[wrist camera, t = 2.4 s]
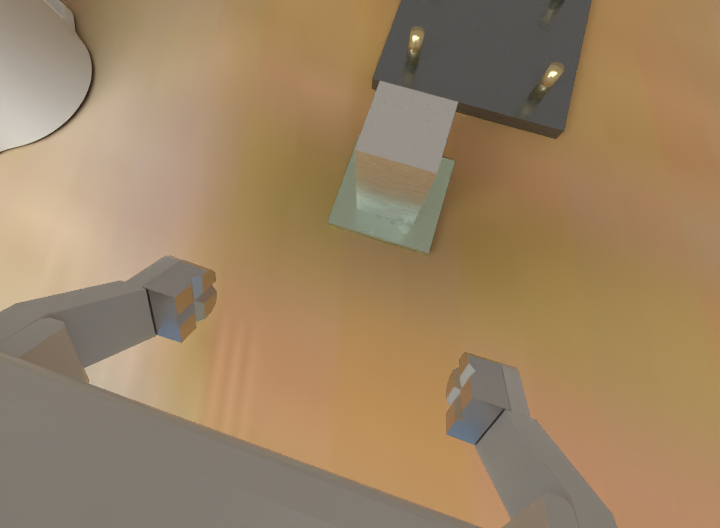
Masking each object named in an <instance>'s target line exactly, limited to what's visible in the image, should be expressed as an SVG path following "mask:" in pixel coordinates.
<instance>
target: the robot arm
mask: <svg viewBox="0 0 720 528" xmlns="http://www.w3.org/2000/svg"><path fill="white" fill-rule="evenodd" d="M91 75H92V64H91V59H90V55H89V52H88V50H87V48H86V46H85V45H84V43H83V42H82V41H81V39H80V38H79V37H78V35H77V33H76V31H75V23H74V16H73V13H72V11H71V10H70V9H69V8H68V7H67V6H66V5H64V4H63V3H62V2H61V1H59V0H0V152H1V151H3V150H7V149H10V148H14V147H18V146H22V145H26V144H29V143H31V142H34V141H36V140H39V139H41V138H43V137H45V136H46V135H48V134H50V133H52V132H53V131H55V130H56V129H57V128H59V127H60V126H61V125H62V124H64V123H65V122H66V121H67V120H68V119H69V118H70V117H71V116H72V115H73V114H74V112H75V111H76V110H77V109H78V107H79V106H80V104H81V103H82V101H83V99H84V98H85V96H86V93H87V91H88V88H89V85H90V81H91ZM215 281H216V275H215V272H214V271H213V270H211V269H208V268H205V267H202V266H199V265H197V264H194V263H191V262H188V261H185V260H181V259H178V258H176V257H173V256H165V257H163V258H161V259H160V260H158V261H157V262H155V263H154V264H152V265H151V266H149V267H148V268H146V269H144V270H143V271H141V272H140V273H138V274H137V275H135V276H134V277H132V278H130V279H129V280H127V281H126V282H123V281H116V282H111V283H107V284H102V285H98V286H93V287H89V288H84V289H80V290H75V291H71V292H66V293H62V294H57V295H52V296H48V297H43V298H39V299H34V300H30V301H25V302H21V303H16V304H14V305H12V306H10V307H9V308H7V309H5V310H3V311H1V312H0V528H482V527H479V526H476V525H473V524H471V523H468V522H465V521H463V520H460V519H457V518H454V517H452V516H449V515H446V514H443V513H441V512H438V511H435V510H432V509H430V508H427V507H424V506H422V505H419V504H416V503H413V502H411V501H408V500H405V499H402V498H400V497H397V496H394V495H392V494H389V493H386V492H383V491H381V490H378V489H375V488H372V487H370V486H367V485H364V484H362V483H359V482H356V481H353V480H351V479H348V478H345V477H343V476H340V475H337V474H334V473H332V472H329V471H326V470H323V469H321V468H318V467H315V466H313V465H310V464H307V463H304V462H302V461H299V460H296V459H293V458H291V457H288V456H285V455H283V454H280V453H277V452H274V451H272V450H269V449H266V448H263V447H261V446H258V445H255V444H252V443H250V442H247V441H244V440H242V439H239V438H236V437H233V436H231V435H228V434H225V433H222V432H220V431H217V430H214V429H211V428H209V427H206V426H203V425H200V424H198V423H195V422H192V421H190V420H187V419H184V418H181V417H179V416H176V415H173V414H170V413H168V412H165V411H162V410H160V409H157V408H154V407H151V406H149V405H146V404H143V403H140V402H138V401H135V400H132V399H129V398H127V397H124V396H121V395H119V394H116V393H113V392H110V391H108V390H105V389H102V388H99V387H97V386H94V385H91V384H89V379H88V376H87V374H86V372H85V370H84V368H85V367H87V366H90V365H92V364H94V363H96V362H99V361H101V360H103V359H105V358H108V357H110V356H112V355H114V354H117V353H119V352H121V351H123V350H125V349H128V348H130V347H132V346H134V345H137V344H139V343H141V342H143V341H146V340H148V339H150V338H152V337H155V336H156V335H159V336H162V337H165V338H169V339H172V340H175V341H178V342H181V343H182V342H183V341H184V340H185V339H186V338H187V337H188V336H189V335H190V334H191V333H192V332H193V331H194V330H195V329H196V321H199V320H202V319H205V318H206V317H207V316H208V315H209V314H210V313H211V312H212V310H213V308H214V306H215V304H216V299H217V291H216V290H215V288H214V287H213V285H212V284H213V283H214V282H215ZM446 400H447V402H448V404H449V405H450V408H449V409H448V411H447V412H446V434H447V435H449V436H452V437H455V438H457V439H460V440H463V441H465V442H468V443H471V444H473V445H476V446H475V448H476V450H477V452H478V454H479V456H480V458H481V460H482V462H483V464H484V466H485V468H486V470H487V472H488V474H489V476H490V478H491V480H492V482H493V484H494V486H495V488H496V490H497V492H498V494H499V496H500V498H501V500H502V502H503V504H504V506H505V508H506V510H507V512H508V514H509V516H510V518H511V520H510V521H509V522H508V523H507V524H505V525H504V526H503V527H501V528H618V527H617V525H616V522H615V520H614V517H613V514H612V513H611V512H610V510H609V509H608V508H607V507H606V505H605V504H604V503H603V502H602V501H601V499H600V498H599V497H598V496H597V494H596V493H595V492H594V491H593V489H592V488H591V487H590V486H589V485H588V483H587V482H586V481H585V480H584V478H583V477H582V476H581V475H580V473H579V472H578V471H577V470H576V468H575V467H574V466H573V465H572V464H571V462H570V461H569V460H568V459H567V457H566V456H565V455H564V454H563V452H562V451H561V450H560V449H559V447H558V446H557V445H556V444H555V443H554V441H553V440H552V439H551V438H550V436H549V435H548V434H547V433H546V431H545V430H544V429H543V428H542V427H541V425H540V424H539V423H538V422H537V420H535V419H532V418H531V417H530V413H529V409H528V405H527V401H526V398H525V394H524V390H523V386H522V382H521V378H520V374H519V371H518V370H517V368H516V367H512V366H509V365H506V364H503V363H498V362H495V361H492V360H489V359H486V358H483V357H480V356H476V355H473V354H470V353H467V352H465V353H464V354H462V356H461V358H460V359H459V367H458V368H456V369H453V371H452V373H451V375H450V377H449V380H448V384H447V389H446Z"/></svg>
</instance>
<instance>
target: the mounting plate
mask: <svg viewBox="0 0 720 528" xmlns="http://www.w3.org/2000/svg"><path fill="white" fill-rule="evenodd" d="M590 4H591V0H401V3H400V5H399V8H398V11H397V14H396V16H395V19H394V22H393V24H392V27H391V30H390V33H389V35H388V38H387V41H386V44H385V46H384V49H383V52H382V54H381V57H380V60H379V63H378V65H377V68H376V71H375V73H374V76H373V80H372V89H376V90H377V87H378V84H379V82H380V81H383V82H387V83H391V84H394V85H398V86H402V87H405V88H409V89H413V90H416V91H420V92H424V93H428V94H431V95H435V96H439V97H442V98H446V99H450V100H453V101H457V102H458V104H457V108H456V112H460V113H463V114H467V115H471V116H474V117H478V118H482V119H485V120H489V121H493V122H496V123H500V124H504V125H507V126H511V127H515V128H518V129H522V130H525V131H529V132H533V133H536V134H540V135H544V136H547V137H551V138H555V139H556V138H557V137H558V136H559V135H560V134H561V133H562V132H563V131H564V128H565V124H566V119H567V114H568V109H569V104H570V100H571V95H572V90H573V85H574V81H575V76H576V71H577V66H578V61H579V57H580V52H581V47H582V42H583V38H584V33H585V28H586V23H587V19H588V14H589V9H590Z"/></svg>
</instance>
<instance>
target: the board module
mask: <svg viewBox="0 0 720 528" xmlns="http://www.w3.org/2000/svg"><path fill="white" fill-rule="evenodd" d="M457 104H458V102H457V101H453V100H450V99H446V98H442V97H439V96H435V95H431V94H428V93H424V92H420V91H416V90H413V89H409V88H405V87H402V86H398V85H394V84H391V83H387V82H383V81H380V82H379V84H378V87H377V90H376V93H375V95H374V98H373V101H372V104H371V106H370V109H369V112H368V115H367V118H366V120H365V123H364V126H363V129H362V131H361V134H359V137H358V139H357V142H356V145H355V148H354V151H353V153H352V156H351V159H350V162H349V164H348V167H347V170H346V173H345V175H344V178H343V181H342V184H341V187H340V189H339V192H338V195H337V198H336V200H335V203H334V206H333V209H332V211H331V214H330V217H329V220H328V225H330V226H333V227H336V228H339V229H343V230H346V231H349V232H352V233H356V234H359V235H362V236H365V237H369V238H372V239H375V240H378V241H382V242H385V243H388V244H391V245H395V246H398V247H401V248H404V249H408V250H411V251H414V252H417V253H421V254H424V255H428V254H429V251H430V247H431V244H432V240H433V237H434V233H435V229H436V226H437V222H438V219H439V215H440V212H441V208H442V205H443V201H444V198H445V194H446V191H447V187H448V184H449V180H450V177H451V173H452V170H453V166H454V163H455V161H454V160H450V159H447V158H443V157H442V155H443V152H444V148H445V145H446V142H447V138H448V135H449V131H450V128H451V125H452V121H453V118H454V114H455V111H456V108H457Z"/></svg>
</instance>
